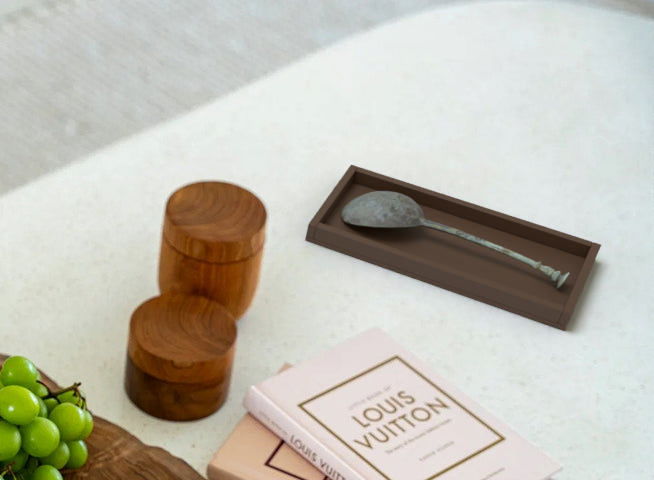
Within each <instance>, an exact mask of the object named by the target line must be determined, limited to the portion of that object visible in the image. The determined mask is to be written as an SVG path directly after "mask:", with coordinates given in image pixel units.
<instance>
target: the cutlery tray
mask: <svg viewBox="0 0 654 480" xmlns="http://www.w3.org/2000/svg"><path fill="white" fill-rule="evenodd" d="M375 191H391V192H397V193H400V194H403V195H405V196H408V197H409V198H411V199H413V200H414V201H415V202H416V203H417V204H418V205H419V206H420V208H421V209H422V211H423V214H424V217H425V219H426V220H429V221H432V222H436V223H439V224H442V225H445V226H448V227H451V228H455V229H457V230H460V231H462V232H465V233H467V234H470V235H473V236H475V237H478V238H480V239H483V240H486V241H488V242H491V243H493V244H496V245H499V246H501V247H504V248H506V249H509V250H511V251H513V252H516V253H518V254H520V255H522V256H525V257H527V258H529V259H531V260H533V261H535V262H541V265H542V266H548V267H551V268H552V269H554V270H555V271H560V272H561V275H565V274H566V273H568V272H569V275H568V277H567V279H566V280H565V282H564V283H563V285H562V286H561V287H560V288H559V289H557V285H558V282H556V281H555V282H552V281H551V278H548V276H544V275H543V274H542V273H541V272H540V270H539V269H537V270H534V268H533V267H532V266H530V265H528V264H526V263H523V262H521V261H518V260H516V259H514V258H511V257H509V256H507V255H504V254H502V253H499V252H496V251H494V250H491V249H489V248H486V247H484V246H481V245H478V244H476V243H473V242H470V241H468V240H465V239H462V238H460V237H457V236H454V235H451V234H448V233H444V232H441V231H438V230H434V229H430V228H427V227H423V226H415V227H399V228H398V227H397V228H380V227H366V226H357V225H352V224H349V223H346V222H345V221H343V219H342V217H341V213H342V210H343V208H344V207H345V205H346V204H348V203H349V202H350V201H352V200H353V199H355V198H357V197H359V196H361V195H364V194H367V193H370V192H375ZM304 240H305V241H307V242H309V243H313V244H316V245H318V246H320V247H324V248H327V249H330V250H333V251H336V252H339V253H341V254H344V255H346V256H350V257H352V258H356V259H359V260H362V261H364V262H367V263H370V264H373V265H375V266H378V267H381V268H384V269H386V270H390V271H393V272H396V273H398V274H401V275H404V276H407V277H411V278H413V279H416V280H418V281H421V282H424V283H427V284H429V285H432V286H436V287H439V288H441V289H444V290H447V291H449V292H453V293H456V294H458V295H461V296H463V297H467V298H470V299H473V300H476V301H478V302H482V303H484V304H487V305H490V306H493V307H495V308H498V309H502V310H504V311H507V312H510V313H512V314H516V315H519V316H521V317H524V318H526V319H529V320H532V321H535V322H538V323H541V324H544V325H547V326H550V327H553V328H556V329H559V330H562V331H566V329H567V326H568V325H569V322H570V320H571V318H572V316H573V313H574V311H575V309H576V306H577V304H578V302H579V299H580V296H581V295H582V292H583V290H584V287H585V285H586V283H587V280H588V279H589V278H588V277H589V275H590V273H591V271H592V269H593V266H594V264H595V261H596V259H597V257H598V254H599V251H600V249H601V247H602V244H600V243H597V242H595V241H591V240H588V239H585V238H583V237H578V236H576V235H572V234H569V233H567V232H564V231H560V230H557V229H554V228H551V227H547V226H544V225H541V224H538V223H535V222H532V221H529V220H525V219H522V218H519V217H516V216H513V215H510V214H507V213H504V212H500V211H497V210H494V209H491V208H489V207H488V208H487V207H485V206H482V205H479V204H476V203H472V202H469V201H468V200H467V201H466V200H464V199H460V198H457V197H453V196H450V195H449V194H446V193H445V194H444V193H441V192H438V191H435V190H432V189H429V188H426V187H422V186H420V185H416V184H413V183H410V182H408V181H407V182H406V181H404V180H400V179H397V178H395V177H392V176H389V175H385V174H383V173H379V172H376V171H373V170H369V169H367V168H364V167H360V166H358V165H354V164H350V165H349V167H348V168H347V169H346V171H345V172H344V174H343V175H342V176H341V178H340V179H339V181H338V182H337V183H336V185H335V187H333V189H332V191H331V192H330V193H329V195H328V196H327V197H326V199H325V200H324V201H323V203H322V204H321V206H320V207H319V208H318V210H317V211H316V213H315V214H314V216H313V217H312V219H311V220H310V221H309V223H308V225H307V229H306V234H305V238H304Z"/></svg>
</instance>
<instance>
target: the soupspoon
mask: <svg viewBox="0 0 654 480" xmlns="http://www.w3.org/2000/svg"><path fill="white" fill-rule="evenodd" d="M341 217H342V219H343V221H345V222H346V223H349V224H352V225H357V226H366V227H380V228H397V227H398V228H399V227H415V226H423V227H427V228H430V229H434V230H438V231H441V232H444V233H448V234H451V235H454V236H457V237H460V238H462V239H465V240H468V241H470V242H473V243H476V244H478V245H481V246H484V247H486V248H489V249H491V250H494V251H496V252H499V253H502V254H504V255H507V256H509V257H511V258H514V259H516V260H518V261H521V262H523V263H526V264H528V265H530V266H532V267H533V268H534V270H537V269H539V270H540V272H541V273H542V274H543V275H544V276H548V278H551V281H552V282H555V281H556V282H558V285H557V289H559V288H560V287H561V286H562V285H563V283H564V282H565V280H566V279H567V277H568V275H569V272H568V273H566V274H565V275H561V272H560V271H555V270H554V269H552V268H551V267H548V266H542V265H541V262H535V261H533V260H531V259H529V258H527V257H525V256H522V255H520V254H518V253H516V252H513V251H511V250H509V249H506V248H504V247H501V246H499V245H496V244H493V243H491V242H488V241H486V240H483V239H480V238H478V237H475V236H473V235H470V234H467V233H465V232H462V231H460V230H457V229H455V228H451V227H448V226H445V225H442V224H439V223H436V222H432V221H429V220H426V219H425V217H424V214H423V211H422V209H421V208H420V206H419V205H418V204H417V203H416V202H415V201H414V200H413V199H411V198H409V197H408V196H405V195H403V194H400V193H397V192H391V191H375V192H370V193H367V194H364V195H361V196H359V197H357V198H355V199H353V200H352V201H350V202H349V203H348V204H346V205H345V207H344V208H343V210H342V213H341Z"/></svg>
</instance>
